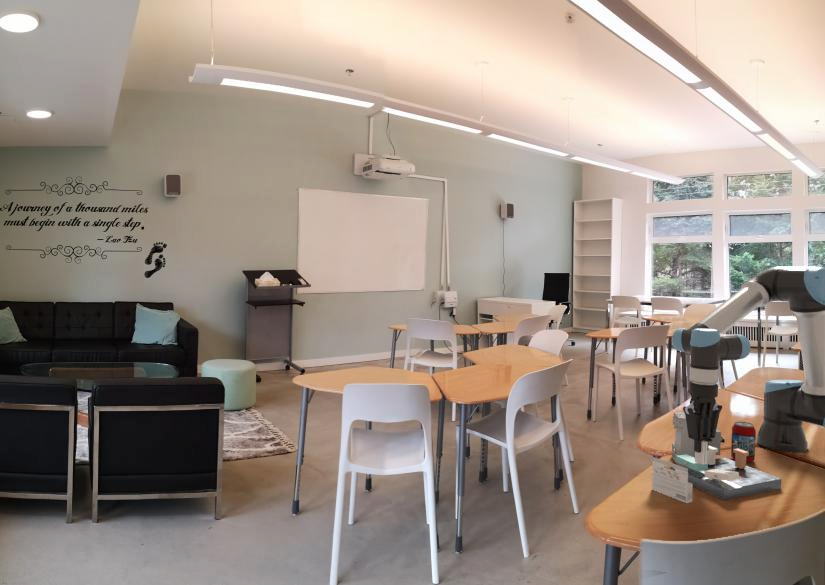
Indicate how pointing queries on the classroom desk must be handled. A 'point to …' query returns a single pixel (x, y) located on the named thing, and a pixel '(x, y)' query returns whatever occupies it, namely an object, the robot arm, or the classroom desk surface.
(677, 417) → the circuit breaker
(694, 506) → the classroom desk surface
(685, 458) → the rocker teal
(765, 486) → the panel
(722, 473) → the rocker ivory
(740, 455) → the slider rust
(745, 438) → the beverage can
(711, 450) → the slider ivory
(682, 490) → the ink cartridge box
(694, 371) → the robot arm
